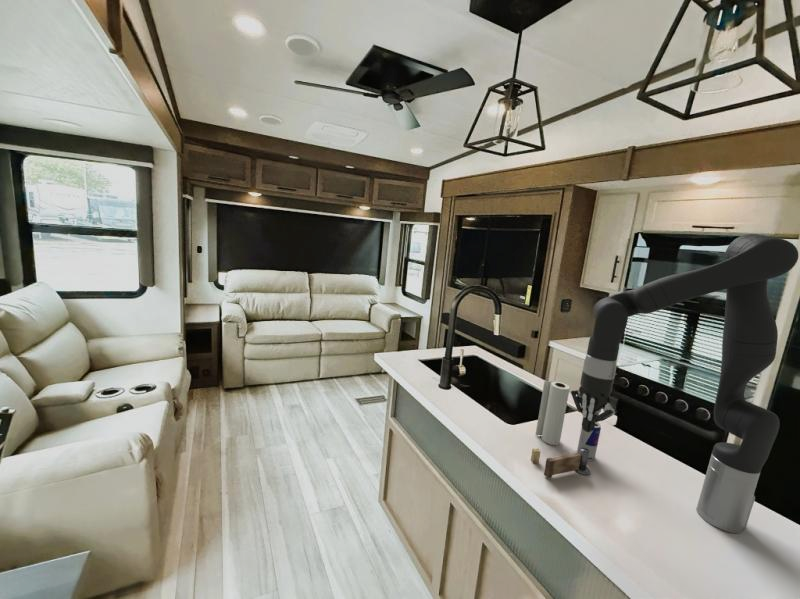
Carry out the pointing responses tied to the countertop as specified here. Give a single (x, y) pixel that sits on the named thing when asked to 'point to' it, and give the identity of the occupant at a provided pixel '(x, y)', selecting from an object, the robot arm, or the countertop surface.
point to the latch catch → (535, 455)
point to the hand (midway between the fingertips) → (587, 430)
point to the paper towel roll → (552, 411)
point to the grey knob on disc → (583, 462)
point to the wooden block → (562, 464)
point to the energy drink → (589, 441)
